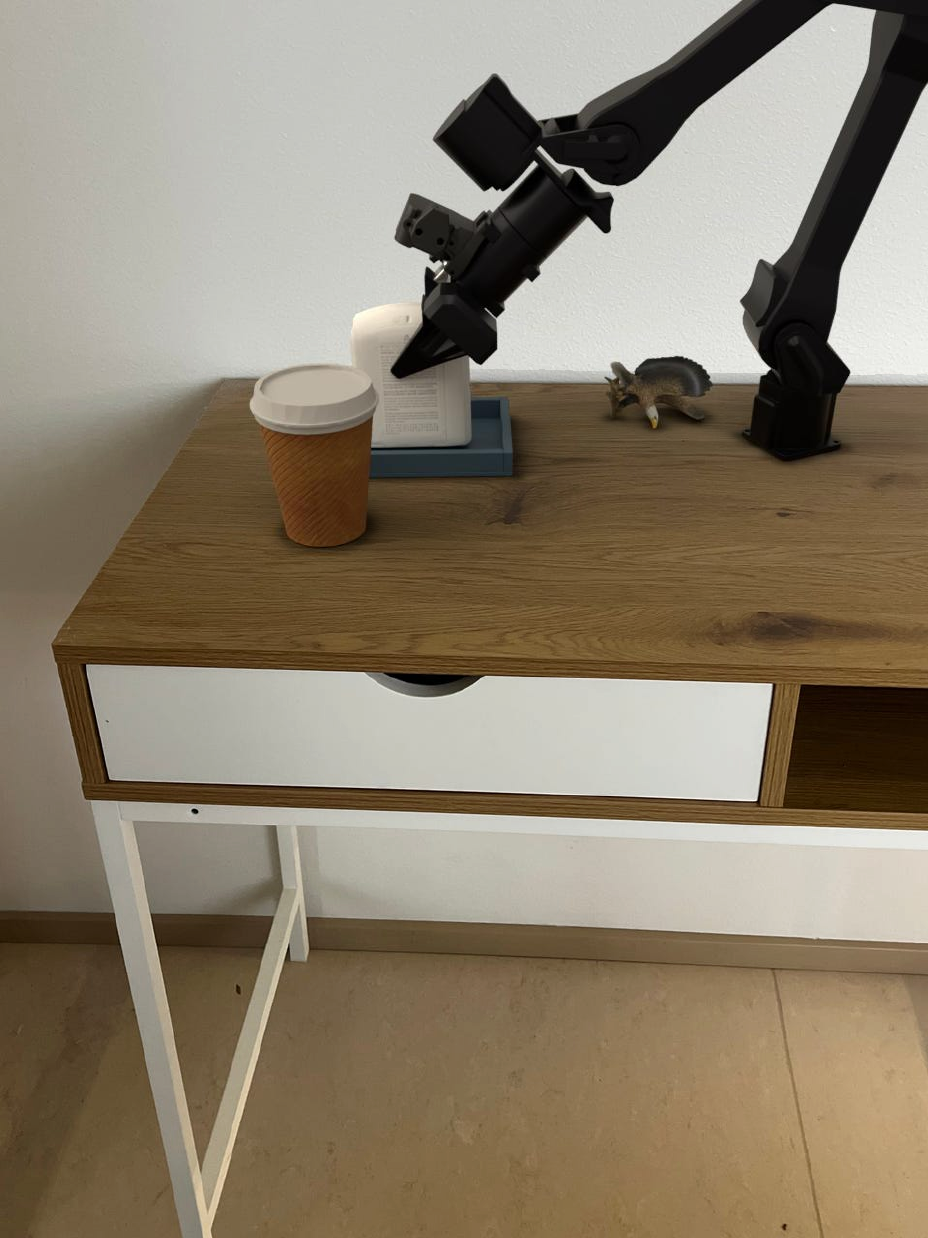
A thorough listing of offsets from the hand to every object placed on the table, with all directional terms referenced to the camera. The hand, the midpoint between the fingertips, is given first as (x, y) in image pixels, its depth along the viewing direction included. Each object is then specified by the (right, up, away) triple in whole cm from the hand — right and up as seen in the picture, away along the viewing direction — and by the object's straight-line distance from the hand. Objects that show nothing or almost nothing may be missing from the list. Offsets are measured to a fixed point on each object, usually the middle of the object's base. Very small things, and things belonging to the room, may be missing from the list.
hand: (395, 365), depth 99 cm
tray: (+1, -6, +4) cm, 8 cm away
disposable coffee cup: (-5, -15, -9) cm, 18 cm away
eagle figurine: (+24, -3, +9) cm, 26 cm away
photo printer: (+2, -6, +3) cm, 7 cm away
